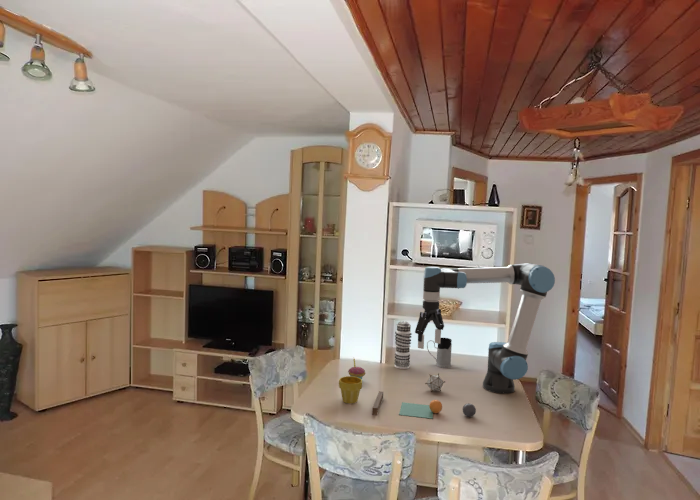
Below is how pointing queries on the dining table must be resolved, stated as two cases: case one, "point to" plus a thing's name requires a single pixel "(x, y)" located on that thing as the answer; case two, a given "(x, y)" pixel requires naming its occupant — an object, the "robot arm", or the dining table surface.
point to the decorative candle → (402, 345)
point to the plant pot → (350, 388)
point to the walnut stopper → (377, 403)
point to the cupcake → (356, 371)
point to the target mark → (416, 410)
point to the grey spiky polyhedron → (435, 382)
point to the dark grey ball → (469, 410)
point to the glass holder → (443, 353)
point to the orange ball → (435, 406)
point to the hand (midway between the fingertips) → (429, 345)
